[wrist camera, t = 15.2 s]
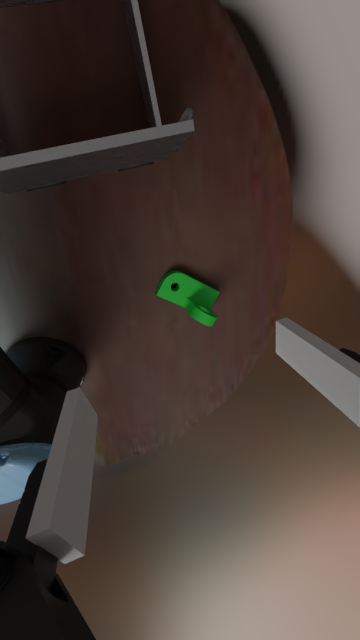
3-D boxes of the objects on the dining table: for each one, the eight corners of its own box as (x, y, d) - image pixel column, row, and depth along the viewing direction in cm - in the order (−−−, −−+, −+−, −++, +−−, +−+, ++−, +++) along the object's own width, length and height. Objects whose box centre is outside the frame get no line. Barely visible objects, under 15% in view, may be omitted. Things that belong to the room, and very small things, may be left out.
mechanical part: (216, 289, 47) (233, 303, 40) (202, 312, 49) (216, 329, 42) (168, 265, 42) (178, 275, 35) (154, 291, 44) (162, 306, 37)
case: (24, 197, 32) (-55, 185, 17) (-71, 5, 23) (-397, -354, 9) (171, 164, 35) (211, 130, 20) (136, -19, 26) (162, -318, 11)
